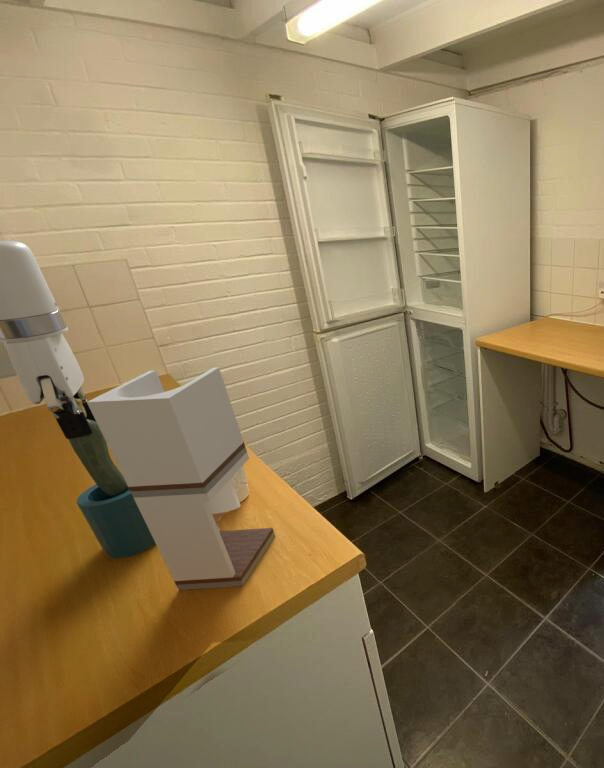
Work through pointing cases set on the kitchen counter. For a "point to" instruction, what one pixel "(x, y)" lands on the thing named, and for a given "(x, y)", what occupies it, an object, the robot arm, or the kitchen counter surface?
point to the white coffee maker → (183, 474)
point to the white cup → (240, 484)
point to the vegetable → (98, 459)
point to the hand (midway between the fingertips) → (82, 429)
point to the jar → (115, 522)
